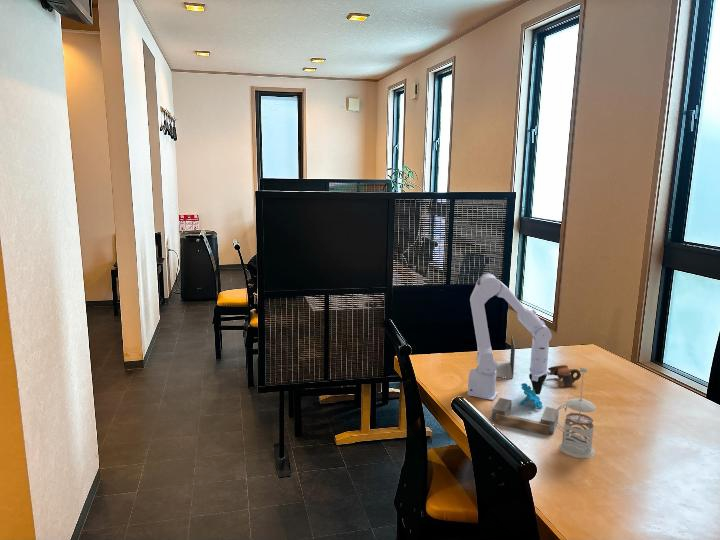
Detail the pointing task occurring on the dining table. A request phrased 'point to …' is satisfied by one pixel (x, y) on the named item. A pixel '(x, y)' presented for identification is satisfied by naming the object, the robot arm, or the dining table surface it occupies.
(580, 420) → the french press
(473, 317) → the robot arm
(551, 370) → the pottery mug
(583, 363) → the dining table surface
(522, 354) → the dining table surface
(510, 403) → the cradle
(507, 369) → the laptop
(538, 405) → the blue knobby piece
